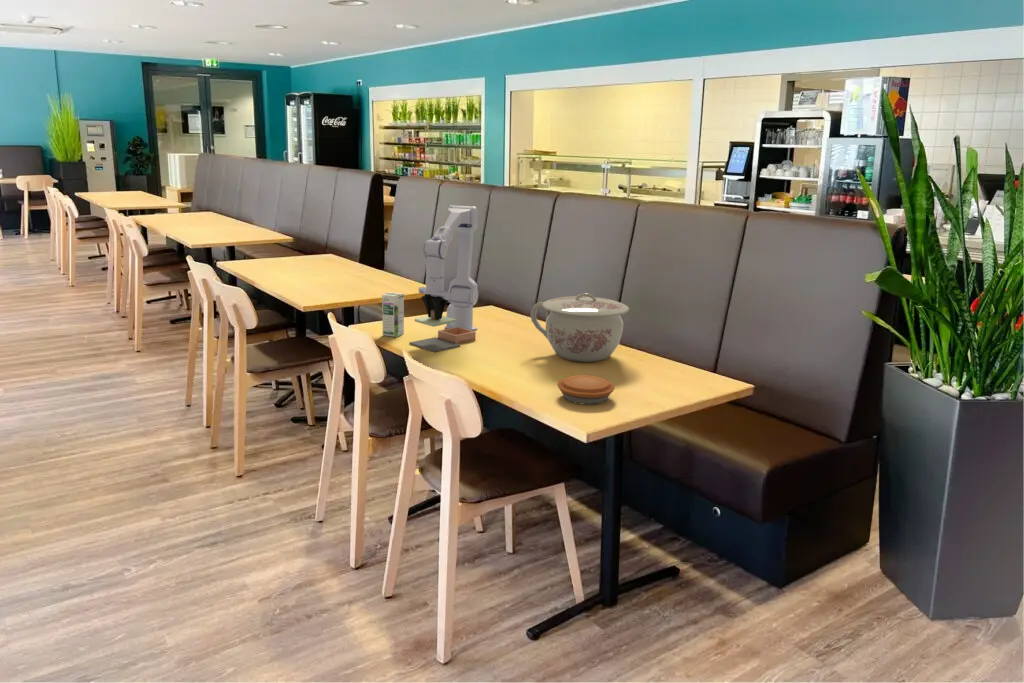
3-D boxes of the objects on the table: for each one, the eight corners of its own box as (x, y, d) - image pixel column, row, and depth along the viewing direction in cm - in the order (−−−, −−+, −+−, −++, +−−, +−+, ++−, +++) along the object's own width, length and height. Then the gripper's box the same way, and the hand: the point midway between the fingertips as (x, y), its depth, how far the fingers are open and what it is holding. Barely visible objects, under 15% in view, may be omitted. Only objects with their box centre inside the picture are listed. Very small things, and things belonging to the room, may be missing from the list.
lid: (414, 321, 255) (414, 310, 254) (437, 316, 261) (437, 305, 260) (433, 326, 248) (433, 315, 247) (456, 321, 255) (455, 310, 254)
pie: (592, 386, 219) (593, 369, 218) (625, 403, 206) (626, 385, 205) (545, 393, 212) (546, 375, 211) (576, 410, 199) (577, 392, 198)
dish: (438, 339, 264) (438, 330, 264) (457, 335, 271) (458, 326, 270) (455, 344, 258) (455, 335, 258) (475, 340, 265) (475, 331, 264)
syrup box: (382, 335, 267) (381, 294, 263) (389, 332, 272) (389, 291, 269) (397, 337, 265) (396, 295, 262) (404, 333, 271) (404, 292, 267)
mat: (409, 344, 257) (409, 342, 257) (435, 338, 265) (435, 337, 265) (434, 352, 248) (434, 350, 248) (460, 346, 256) (460, 344, 256)
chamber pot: (643, 362, 244) (648, 297, 239) (573, 373, 230) (576, 305, 225) (589, 341, 267) (593, 282, 262) (522, 350, 253) (524, 288, 248)
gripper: (411, 275, 253) (411, 315, 256) (439, 281, 243) (439, 323, 247) (428, 273, 258) (428, 312, 261) (456, 279, 248) (456, 320, 251)
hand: (434, 318), depth 254 cm, fingers closed on lid, 3 cm apart
